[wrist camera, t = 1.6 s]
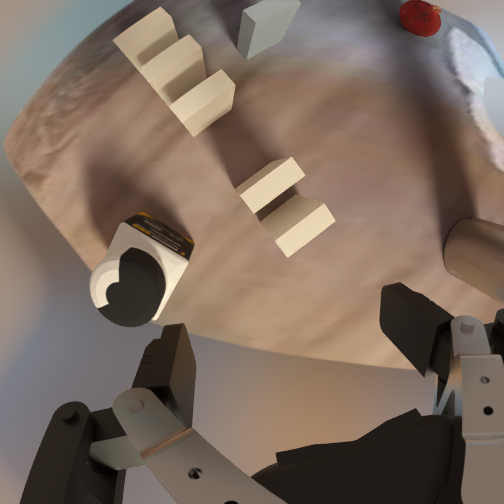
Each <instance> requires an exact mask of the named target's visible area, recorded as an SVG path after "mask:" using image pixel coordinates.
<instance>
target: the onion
mask: <svg viewBox="0 0 504 504" xmlns="http://www.w3.org/2000/svg"><path fill="white" fill-rule="evenodd" d="M439 13H441V9H440V7H438V6H437V5H436V6H433V5H430V4H429V3H427V2H424V1H422V0H410V1H407V2H405V3H404V4H403V5H402V6H401V7H400V12H399V17H400V20H401V23H402V24H403V26H404V27H405V28H406V29H407V30H408V31H409V32H411V33H413V34H415V35H418V36H423V37H428V36H431V35H434V34H435V33H437V31H438V30H439V28H440V26H441V19H440V15H439Z"/></svg>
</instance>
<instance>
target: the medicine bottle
mask: <svg viewBox="0 0 504 504" xmlns="http://www.w3.org/2000/svg"><path fill="white" fill-rule="evenodd" d="M194 246H195V243H194V242H193V241H191V240H190V239H188V238H186V237H185V236H183V235H181V234H179V233H178V232H176V231H174V230H173V229H171V228H169V227H168V226H166V225H164V224H162V223H161V222H159V221H157V220H156V219H154V218H152V217H151V216H149V215H147V214H146V213H144V212H140V213H138V214H137V215H135V216H133V217H131V218H129V219H127V220H125V221H123V222H122V223H120V225H119V227H118V229H117V231H116V234H115V236H114V238H113V240H112V242H111V245H110V247H109V249H108V251H107V254H106V256H105V258H104V259H103V260H102V261H101V262H100V263H99V264H98V265H97V266H96V267H95V268H94V270H93V272H92V274H91V278H90V293H91V297H92V300H93V302H94V304H95V306H96V307H97V309H98V310H99V311H100V313H101V314H102V315H103V316H104V317H106V318H107V319H108V320H110V321H111V322H113V323H115V324H118V325H120V326H124V327H137V326H141V325H144V324H146V323H148V322H149V321H150V320H151V319H152V320H156V319H157V318H158V317H159V315H160V313H161V311H162V309H163V308H164V306H165V304H166V302H167V300H168V299H169V297H170V295H171V293H172V291H173V290H174V288H175V286H176V284H177V283H178V281H179V279H180V277H181V276H182V274H183V272H184V270H185V269H186V267H187V265H188V263H189V260H190V257H191V254H192V251H193V249H194Z"/></svg>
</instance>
